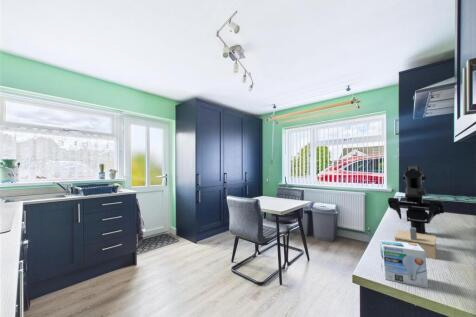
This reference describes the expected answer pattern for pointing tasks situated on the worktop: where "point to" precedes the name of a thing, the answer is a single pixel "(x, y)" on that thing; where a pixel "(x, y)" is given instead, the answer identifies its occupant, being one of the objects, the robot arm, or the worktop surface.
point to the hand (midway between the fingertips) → (414, 220)
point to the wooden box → (429, 249)
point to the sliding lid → (415, 237)
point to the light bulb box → (403, 262)
